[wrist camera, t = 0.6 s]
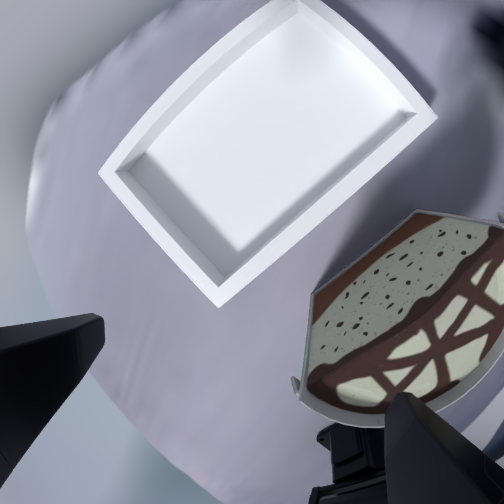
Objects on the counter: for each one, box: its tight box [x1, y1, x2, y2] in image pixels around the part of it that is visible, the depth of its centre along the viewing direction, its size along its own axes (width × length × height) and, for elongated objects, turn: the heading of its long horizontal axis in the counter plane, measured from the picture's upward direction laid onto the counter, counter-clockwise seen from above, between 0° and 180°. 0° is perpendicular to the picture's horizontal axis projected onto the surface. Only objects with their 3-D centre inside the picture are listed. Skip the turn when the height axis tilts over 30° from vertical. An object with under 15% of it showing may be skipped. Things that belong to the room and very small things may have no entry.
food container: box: [291, 209, 504, 428], centre depth 14 cm, size 12×6×10 cm, turn 132°
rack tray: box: [98, 0, 438, 308], centre depth 17 cm, size 12×18×2 cm, turn 134°
